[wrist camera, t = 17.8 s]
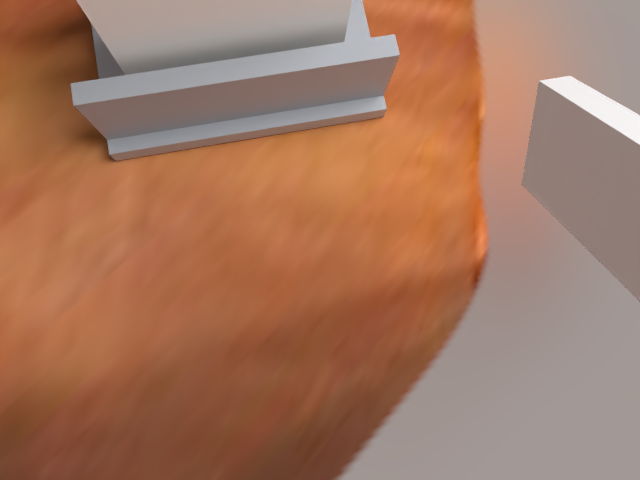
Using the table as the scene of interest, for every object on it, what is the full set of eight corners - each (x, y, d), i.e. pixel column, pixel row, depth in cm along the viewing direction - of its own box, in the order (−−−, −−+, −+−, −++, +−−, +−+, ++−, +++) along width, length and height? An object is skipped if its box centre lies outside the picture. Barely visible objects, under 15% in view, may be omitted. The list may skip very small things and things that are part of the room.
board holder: (115, 160, 26) (75, 122, 21) (93, 1, 28) (50, -70, 23) (383, 116, 27) (403, 70, 23) (349, -34, 29) (361, -109, 24)
